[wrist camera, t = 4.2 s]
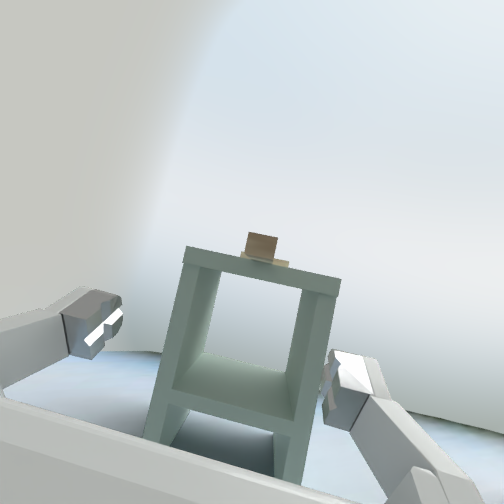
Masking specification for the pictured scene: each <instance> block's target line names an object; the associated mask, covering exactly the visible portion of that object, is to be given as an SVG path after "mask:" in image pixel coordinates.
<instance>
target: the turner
mask: <svg viewBox="0 0 504 504" xmlns="http://www.w3.org/2000/svg"><path fill="white" fill-rule="evenodd" d="M277 240H278V238H277V237H272V236H267V235H262V234H257V233H252V232H249V234H248V238H247V243H246V247H245V252H241V256H240V257H241V258H246V259H250V260H255V261H260V262H264V263H269V264H274V265H278V266H283V267H288V265H289V261H284V260H279V259H275V258H274V253H275V249H276V244H277Z"/></svg>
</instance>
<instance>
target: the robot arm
mask: <svg viewBox="0 0 504 504" xmlns="http://www.w3.org/2000/svg"><path fill="white" fill-rule="evenodd" d="M121 305H122V300H121V297H120V296H118V295H115V294H111V293H107V292H104V291H100V290H97V289H92V288H89V287H85V286H82V287H78V288H77V289H75V290H73V291H72V292H70V293H69V294H67V295H66V296H64V297H63V298H61V299H59V300H58V301H56V302H55V303H53V304H52V305H50V306H49V307H47V308H45V309H44V310H43V309H36V310H33V311H29V312H26V313H21V314H17V315H14V316H10V317H6V318H2V319H0V504H361V503H357V502H354V501H351V500H347V499H344V498H340V497H337V496H334V495H330V494H327V493H324V492H320V491H317V490H314V489H310V488H307V487H303V486H300V485H297V484H293V483H290V482H287V481H283V480H280V479H277V478H273V477H270V476H267V475H263V474H260V473H256V472H253V471H250V470H246V469H243V468H240V467H236V466H233V465H230V464H226V463H223V462H220V461H216V460H213V459H209V458H206V457H203V456H199V455H196V454H193V453H189V452H186V451H183V450H179V449H176V448H173V447H169V446H166V445H163V444H159V443H156V442H153V441H149V440H146V439H143V438H139V437H136V436H132V435H129V434H126V433H122V432H119V431H116V430H112V429H109V428H106V427H102V426H99V425H96V424H92V423H89V422H86V421H82V420H79V419H75V418H72V417H69V416H65V415H62V414H59V413H55V412H52V411H49V410H45V409H42V408H39V407H35V406H32V405H29V404H25V403H22V402H18V401H15V400H12V399H8V398H6V397H5V395H4V392H3V389H4V388H6V387H8V386H10V385H12V384H14V383H16V382H18V381H20V380H22V379H24V378H26V377H28V376H30V375H32V374H34V373H36V372H38V371H40V370H42V369H44V368H46V367H48V366H50V365H52V364H54V363H56V362H58V361H60V360H62V359H64V358H66V357H68V356H69V355H72V356H77V357H81V358H85V359H89V360H92V359H93V358H94V357H95V356H96V355H97V354H98V353H99V352H100V351H101V350H102V348H103V347H104V346H105V341H106V340H109V339H111V338H113V337H114V336H115V335H116V334H117V333H118V331H119V329H120V327H121V325H122V321H123V314H122V312H121V311H120V310H119V307H120V306H121ZM328 362H329V363H328V364H326V365H325V366H324V368H323V370H322V374H321V380H320V387H321V394H322V395H323V397H324V398H325V399H324V401H323V404H322V411H323V421H324V424H325V425H329V426H332V427H335V428H338V429H342V430H345V431H348V432H350V435H351V437H352V439H353V440H354V442H355V444H356V445H357V447H358V449H359V450H360V452H361V454H362V455H363V457H364V459H365V460H366V462H367V464H368V466H369V467H370V469H371V471H372V472H373V474H374V476H375V477H376V479H377V481H378V482H379V484H380V486H381V488H382V489H383V491H384V493H385V494H386V496H387V498H388V499H387V501H386V502H385V503H384V504H485V503H484V501H483V500H482V498H481V496H480V494H479V492H478V490H477V488H476V486H475V484H474V482H473V481H472V480H471V479H470V478H469V477H468V476H467V475H466V474H465V473H464V471H463V470H462V469H461V468H460V467H459V466H458V465H457V464H456V463H455V462H454V461H453V460H452V459H451V458H450V457H449V456H448V455H447V454H446V453H445V452H444V451H443V450H442V449H441V447H440V446H439V445H438V444H437V443H436V442H435V441H434V440H433V439H432V438H431V437H430V436H429V435H428V434H427V433H426V432H425V431H424V430H423V429H422V428H421V427H420V426H419V425H418V423H417V422H416V421H415V420H414V419H413V418H412V417H411V416H410V415H409V414H408V413H407V412H406V411H405V410H404V409H403V408H402V407H401V406H400V405H399V404H398V403H397V402H395V401H392V399H391V396H390V394H389V391H388V388H387V386H386V383H385V380H384V378H383V375H382V373H381V370H380V367H379V364H378V362H377V360H376V359H375V358H370V357H366V356H359V355H356V354H352V353H348V352H344V351H339V350H335V349H331V351H330V352H329V355H328Z"/></svg>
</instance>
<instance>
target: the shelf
mask: <svg viewBox="0 0 504 504" xmlns="http://www.w3.org/2000/svg"><path fill="white" fill-rule="evenodd" d="M183 263H184V264H183V269H182V273H181V277H180V281H179V285H178V290H177V294H176V298H175V302H174V306H173V310H172V315H171V319H170V323H169V327H168V331H167V336H166V340H165V344H164V348H163V352H162V357H161V361H160V365H159V369H158V373H157V378H156V382H155V386H154V390H153V394H152V399H151V403H150V407H149V411H148V415H147V420H146V424H145V428H144V432H143V436H142V438H143V439H146V440H149V441H153V442H156V443H159V444H163V445H166V446H169V447H170V445H171V443H172V441H173V440H174V438H175V436H176V435H177V433H178V431H179V429H180V428H181V426H182V424H183V423H184V421H185V419H186V417H187V416H188V414H189V412H190V410H194V411H198V412H201V413H205V414H209V415H212V416H216V417H220V418H223V419H227V420H231V421H234V422H238V423H242V424H245V425H249V426H253V427H256V428H260V429H264V430H267V431H271V432H273V448H274V478H277V479H280V480H283V481H287V482H290V483H293V484H297V485H300V486H301V482H302V477H303V472H304V466H305V461H306V456H307V451H308V445H309V440H310V435H311V430H312V424H313V419H314V414H315V409H316V403H317V398H318V393H319V387H320V380H321V374H322V370H323V367H324V361H325V356H326V351H327V345H328V340H329V335H330V330H331V324H332V319H333V314H334V308H335V303H336V298H337V297H338V294H339V289H340V284H341V279H339V278H334V277H329V276H325V275H320V274H316V273H311V272H306V271H301V270H296V269H292V268H288V267H283V266H278V265H274V264H269V263H264V262H260V261H255V260H250V259H246V258H241V257H236V256H232V255H227V254H222V253H218V252H213V251H208V250H203V249H199V248H194V247H189V246H186V250H185V254H184V258H183ZM222 271H223V272H228V273H232V274H237V275H241V276H246V277H250V278H255V279H259V280H264V281H268V282H273V283H277V284H282V285H286V286H291V287H296V288H300V289H302V293H301V298H300V303H299V308H298V313H297V318H296V323H295V328H294V333H293V338H292V343H291V348H290V353H289V358H288V363H287V368H286V372H282V371H278V370H274V369H269V368H266V367H262V366H258V365H253V364H250V363H246V362H242V361H238V360H234V359H230V358H226V357H222V356H218V355H214V354H209V353H206V352H204V347H205V342H206V338H207V334H208V330H209V325H210V321H211V316H212V312H213V307H214V303H215V298H216V294H217V289H218V285H219V281H220V277H221V272H222Z"/></svg>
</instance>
